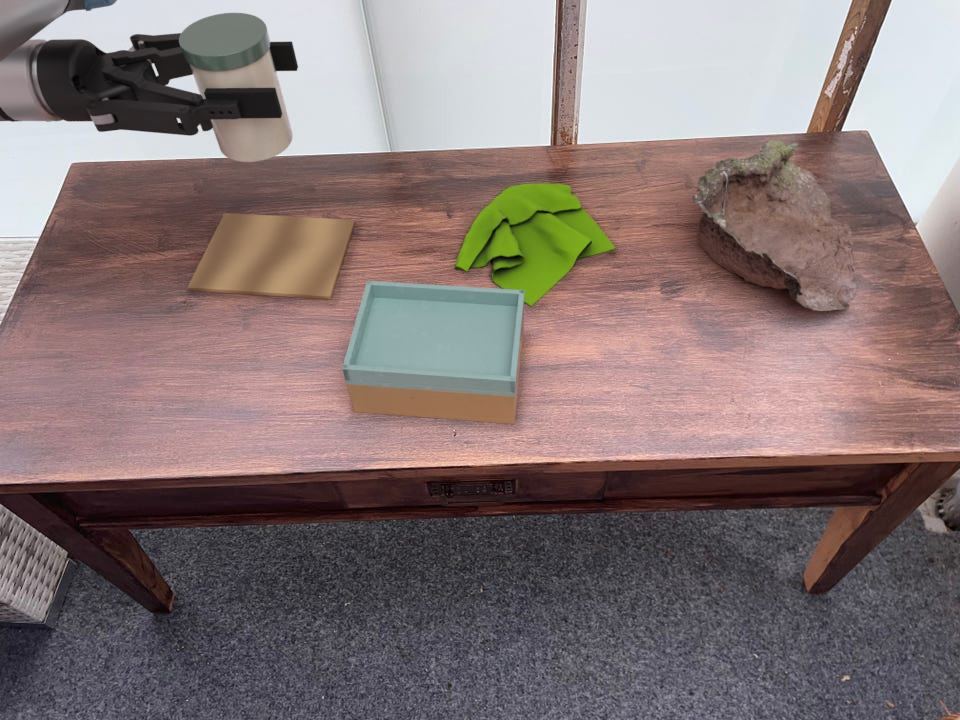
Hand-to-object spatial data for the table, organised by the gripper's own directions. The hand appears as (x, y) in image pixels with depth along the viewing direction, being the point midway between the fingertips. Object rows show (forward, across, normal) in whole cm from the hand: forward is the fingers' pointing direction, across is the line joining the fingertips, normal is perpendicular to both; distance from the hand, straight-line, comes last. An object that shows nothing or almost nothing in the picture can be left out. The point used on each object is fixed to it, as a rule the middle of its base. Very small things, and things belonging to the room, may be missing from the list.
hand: (286, 78), depth 70 cm
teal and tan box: (+14, +16, -26) cm, 34 cm away
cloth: (+24, -5, -26) cm, 36 cm away
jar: (-5, 0, -7) cm, 8 cm away
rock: (+54, -3, -26) cm, 60 cm away
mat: (-8, -3, -26) cm, 27 cm away
